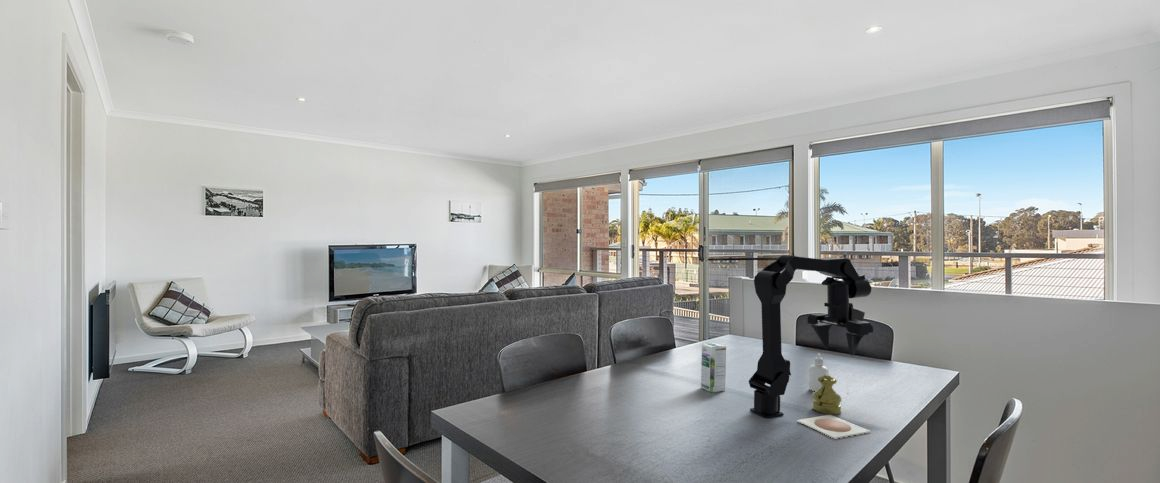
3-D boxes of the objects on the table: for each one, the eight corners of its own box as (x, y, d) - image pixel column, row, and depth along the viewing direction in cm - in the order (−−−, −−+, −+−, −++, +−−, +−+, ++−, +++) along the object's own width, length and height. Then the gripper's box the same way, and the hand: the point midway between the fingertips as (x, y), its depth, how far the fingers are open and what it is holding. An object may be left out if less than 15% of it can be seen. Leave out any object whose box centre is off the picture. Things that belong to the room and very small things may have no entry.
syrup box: (700, 387, 161) (700, 343, 161) (714, 385, 164) (715, 342, 163) (711, 393, 156) (712, 347, 156) (726, 390, 158) (726, 345, 158)
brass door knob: (815, 404, 147) (816, 370, 147) (843, 409, 142) (844, 375, 142) (809, 410, 141) (809, 375, 141) (837, 417, 136) (838, 381, 136)
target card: (834, 439, 121) (834, 437, 121) (796, 422, 132) (796, 419, 132) (869, 432, 126) (869, 430, 126) (830, 416, 137) (830, 414, 137)
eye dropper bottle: (819, 388, 162) (819, 351, 162) (830, 393, 157) (830, 355, 156) (806, 388, 161) (807, 352, 161) (817, 394, 156) (818, 356, 156)
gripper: (886, 301, 141) (887, 355, 142) (832, 293, 159) (833, 342, 159) (857, 304, 138) (858, 360, 138) (805, 296, 155) (806, 346, 156)
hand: (839, 351), depth 148 cm, fingers open, 9 cm apart
